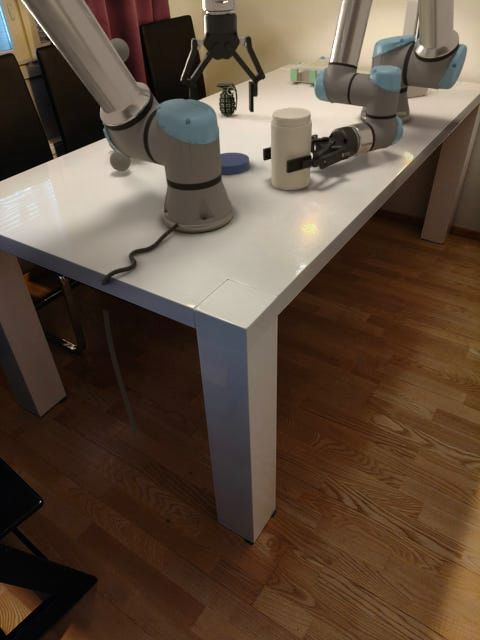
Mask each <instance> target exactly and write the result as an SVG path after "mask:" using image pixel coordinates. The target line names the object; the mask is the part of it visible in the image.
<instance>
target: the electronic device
mask: <svg viewBox="0 0 480 640" xmlns="http://www.w3.org/2000/svg"><path fill="white" fill-rule="evenodd" d="M404 15H405V16H404V23H403V30H402V36H403V35H414V36H415V37H416V41H417V39H418V38H419V37H420V36H419V26H418V24H419V13H418V0H407V1H406V7H405V14H404ZM416 41H415V42H416ZM428 91H429V88H423V87H415V86H408V89H407V97H408V98H415V97H422V96H425V95H426V94H427V93H428Z"/></svg>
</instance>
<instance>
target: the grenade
mask: <svg viewBox="0 0 480 640" xmlns="http://www.w3.org/2000/svg"><path fill="white" fill-rule="evenodd" d="M215 87H217V88H219V89H221V93H219V97H218V101H219V102H218V106H219V108H218V109H219V112H220V114H221V115H222V116H224V117H231V116H233V115H234V113H235V112H236V111H237V108H238V89H237V87H236V85H235V84H234V83H233V82H218V83H217V84H216V86H215ZM232 91H233V92H232ZM234 94H235V96H234Z"/></svg>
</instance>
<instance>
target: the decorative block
mask: <svg viewBox="0 0 480 640" xmlns="http://www.w3.org/2000/svg"><path fill="white" fill-rule="evenodd" d="M329 60H330V57H325V56H320V57H317V58H314V59H312V58H311V59H309V60H305V61H304V62H301V61H296V62H295V65H293V66H292V67H291V68H290V82H294V83H302V84H303V83H305V84H313V85H314V84H315V80H316V78H317V75H318V73H319V72H320V71H322V70H326V69H328V65H329Z"/></svg>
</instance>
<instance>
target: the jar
mask: <svg viewBox="0 0 480 640" xmlns="http://www.w3.org/2000/svg"><path fill="white" fill-rule="evenodd" d="M271 114H272V115H271V118H272V119H271V121H270V147H271V159H270V175H271V176H270V180H271V182H270V183H271V185H272V186H273V187H274V188H276V189H279V190H284V191H295V190H296V191H297V190H302V189H304V188H306V187H308V186H309V185H310V183H311V181H310V180H311V167H309V168H306V169H302V170H299V171H295V172H291V173H287V172H286V164H287V161H288V160H291V159H295V158H299V157H303V156H307V155H311V156H312V153H311V136H312V135H313V134H312V133H313V120H312V119H311V118H312V117H311V116H312V111H311V110H309V109H306V108H302V107H285V108H280V109H279V108H278V109H277V110H274V111H273V112H272V113H271Z"/></svg>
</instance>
